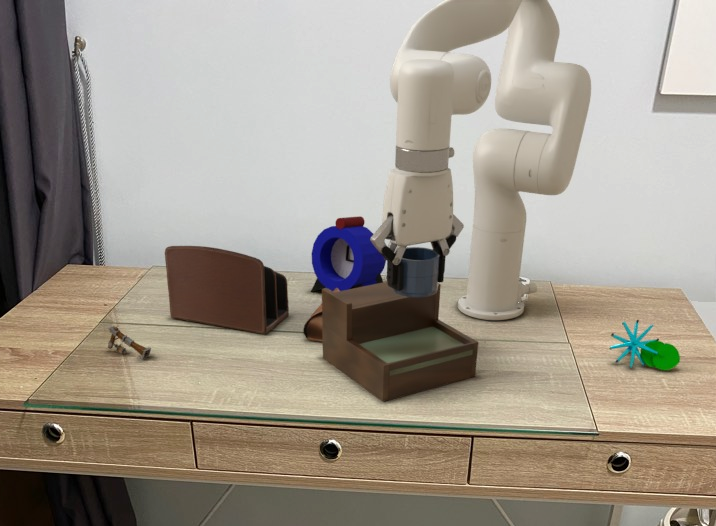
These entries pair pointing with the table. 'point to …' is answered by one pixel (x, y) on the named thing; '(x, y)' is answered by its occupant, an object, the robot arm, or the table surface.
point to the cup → (420, 272)
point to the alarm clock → (346, 256)
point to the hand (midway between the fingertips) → (415, 283)
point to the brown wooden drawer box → (393, 341)
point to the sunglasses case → (315, 325)
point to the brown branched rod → (128, 341)
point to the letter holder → (224, 289)
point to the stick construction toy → (648, 350)
